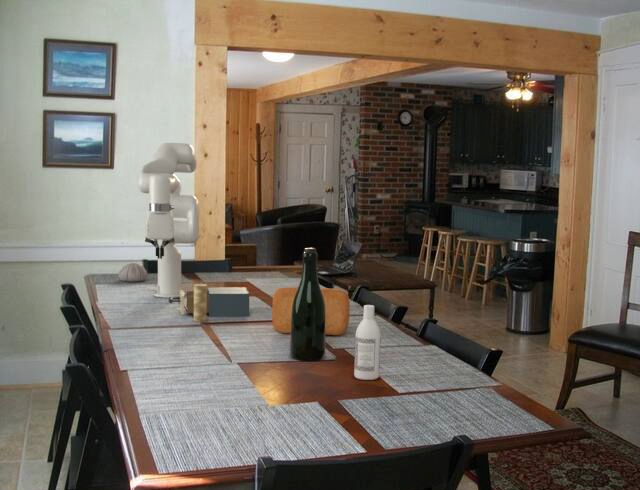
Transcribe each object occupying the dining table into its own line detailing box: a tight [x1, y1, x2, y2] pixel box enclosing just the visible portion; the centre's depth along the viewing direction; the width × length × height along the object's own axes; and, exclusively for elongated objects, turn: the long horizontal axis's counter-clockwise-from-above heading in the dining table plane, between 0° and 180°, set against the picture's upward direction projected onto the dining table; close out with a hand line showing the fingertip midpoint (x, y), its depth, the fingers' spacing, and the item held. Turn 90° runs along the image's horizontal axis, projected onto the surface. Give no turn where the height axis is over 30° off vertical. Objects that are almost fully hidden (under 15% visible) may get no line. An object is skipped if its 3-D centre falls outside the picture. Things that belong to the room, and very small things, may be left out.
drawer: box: [168, 289, 209, 315], centre depth 300 cm, size 18×13×7 cm
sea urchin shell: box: [117, 262, 149, 283], centre depth 372 cm, size 13×14×8 cm
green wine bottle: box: [289, 247, 326, 362], centre depth 238 cm, size 10×10×33 cm
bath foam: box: [353, 304, 382, 381], centre depth 219 cm, size 7×7×20 cm
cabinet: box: [207, 286, 250, 318], centre depth 303 cm, size 15×15×9 cm
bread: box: [271, 286, 351, 336], centre depth 277 cm, size 16×26×17 cm
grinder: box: [193, 283, 208, 323], centre depth 287 cm, size 5×5×13 cm
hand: (159, 258), depth 295 cm, fingers closed
